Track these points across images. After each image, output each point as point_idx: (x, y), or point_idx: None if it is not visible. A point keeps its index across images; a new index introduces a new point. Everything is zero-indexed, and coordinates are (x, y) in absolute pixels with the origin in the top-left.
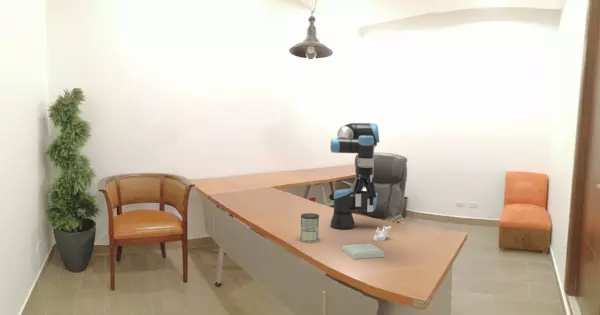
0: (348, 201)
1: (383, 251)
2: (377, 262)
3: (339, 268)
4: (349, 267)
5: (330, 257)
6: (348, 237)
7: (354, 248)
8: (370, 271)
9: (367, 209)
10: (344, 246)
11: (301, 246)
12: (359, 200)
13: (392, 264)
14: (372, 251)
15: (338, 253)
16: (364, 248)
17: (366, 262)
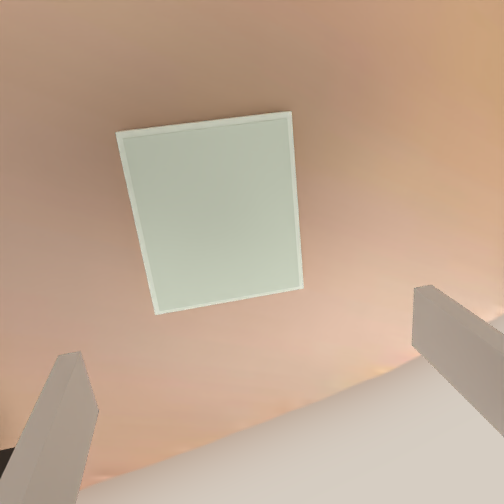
0: None
1: (286, 112)
2: (358, 179)
3: (390, 354)
4: (389, 317)
5: (254, 369)
6: None
7: (225, 269)
8: (451, 249)
9: (429, 359)
10: (168, 308)
11: None
12: (64, 435)
13: (400, 114)
14: (292, 186)
15: (198, 328)
16: (231, 213)
17: (347, 232)
